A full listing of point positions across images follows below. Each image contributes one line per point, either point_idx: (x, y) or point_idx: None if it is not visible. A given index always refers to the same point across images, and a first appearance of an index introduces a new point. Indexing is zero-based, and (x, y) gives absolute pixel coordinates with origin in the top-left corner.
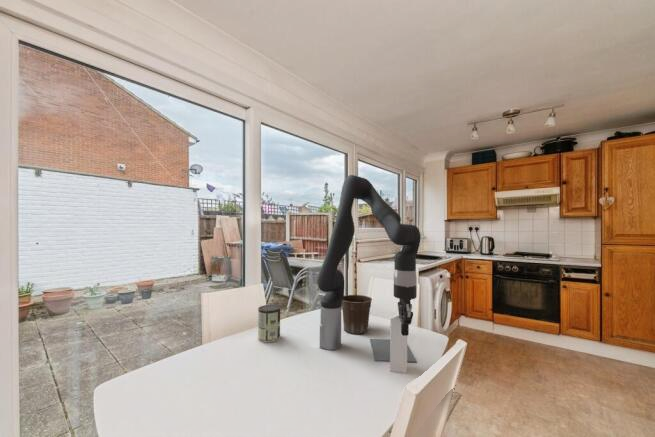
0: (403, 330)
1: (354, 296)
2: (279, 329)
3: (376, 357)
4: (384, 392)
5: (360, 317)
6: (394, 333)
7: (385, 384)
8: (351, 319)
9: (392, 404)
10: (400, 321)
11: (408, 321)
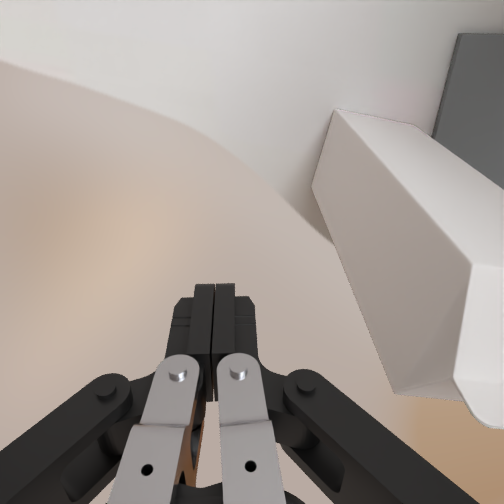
0: (178, 321)
1: None
2: None
3: (491, 47)
4: (126, 40)
5: None
6: (393, 222)
7: (202, 58)
8: None
9: (34, 65)
10: (234, 360)
11: (99, 445)
